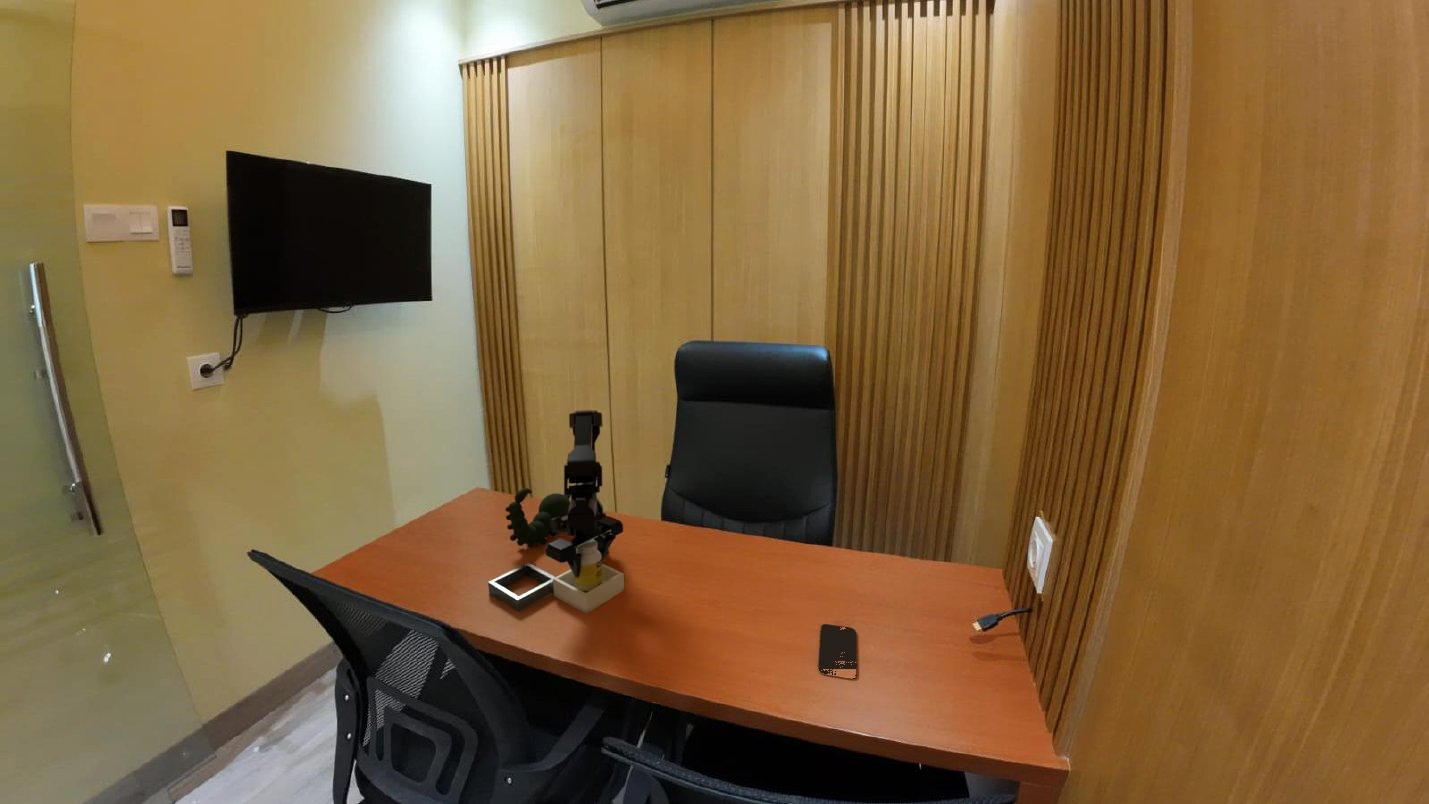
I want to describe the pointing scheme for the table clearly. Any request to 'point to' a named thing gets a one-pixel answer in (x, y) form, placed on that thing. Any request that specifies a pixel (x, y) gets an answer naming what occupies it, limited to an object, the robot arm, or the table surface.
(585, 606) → the bin
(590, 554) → the pill bottle
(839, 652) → the phone
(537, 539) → the toy figurine
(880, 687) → the table surface
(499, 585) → the collar
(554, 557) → the robot arm
